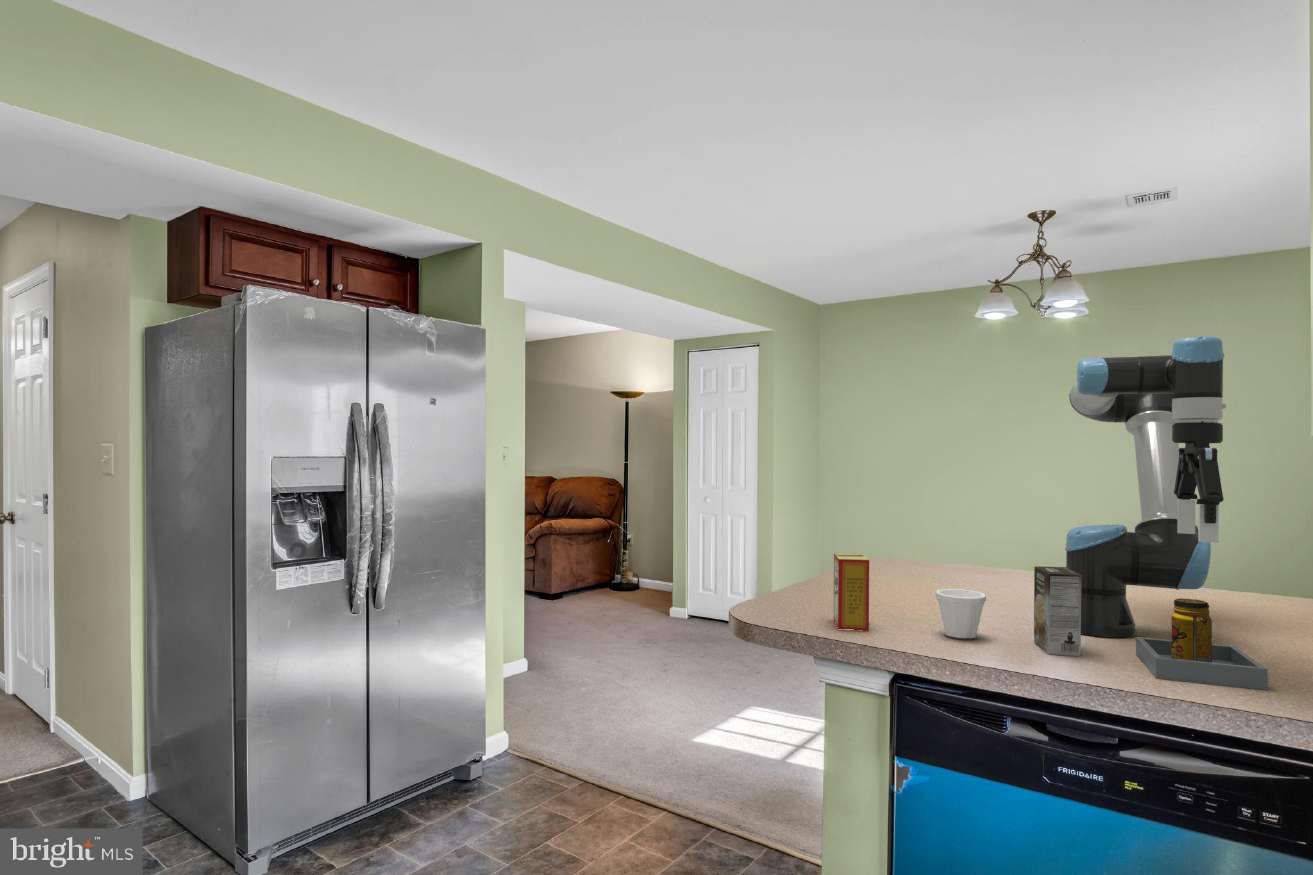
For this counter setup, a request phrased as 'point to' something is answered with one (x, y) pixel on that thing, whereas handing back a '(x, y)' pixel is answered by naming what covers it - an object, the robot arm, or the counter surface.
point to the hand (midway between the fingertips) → (1196, 537)
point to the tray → (1203, 665)
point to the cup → (960, 612)
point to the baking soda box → (851, 591)
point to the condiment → (1191, 630)
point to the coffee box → (1057, 610)
